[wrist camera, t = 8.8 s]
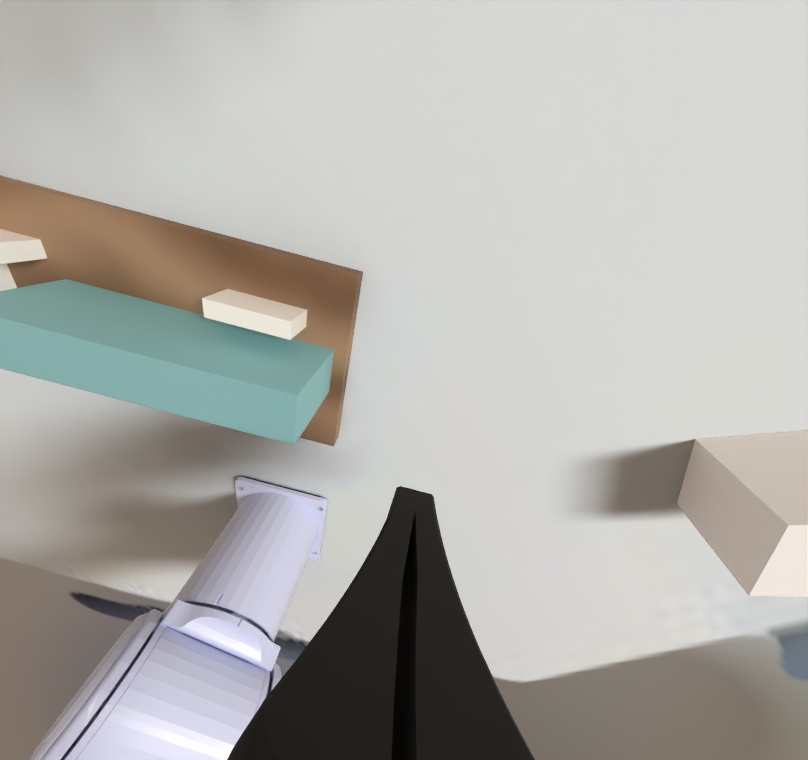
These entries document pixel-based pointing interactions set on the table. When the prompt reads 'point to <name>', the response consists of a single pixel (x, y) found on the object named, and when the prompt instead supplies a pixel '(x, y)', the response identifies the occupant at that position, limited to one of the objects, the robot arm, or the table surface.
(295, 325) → the end caps
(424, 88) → the table surface
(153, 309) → the slat
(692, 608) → the table surface
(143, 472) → the table surface
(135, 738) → the robot arm
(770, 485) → the beige cube
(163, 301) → the walnut board
